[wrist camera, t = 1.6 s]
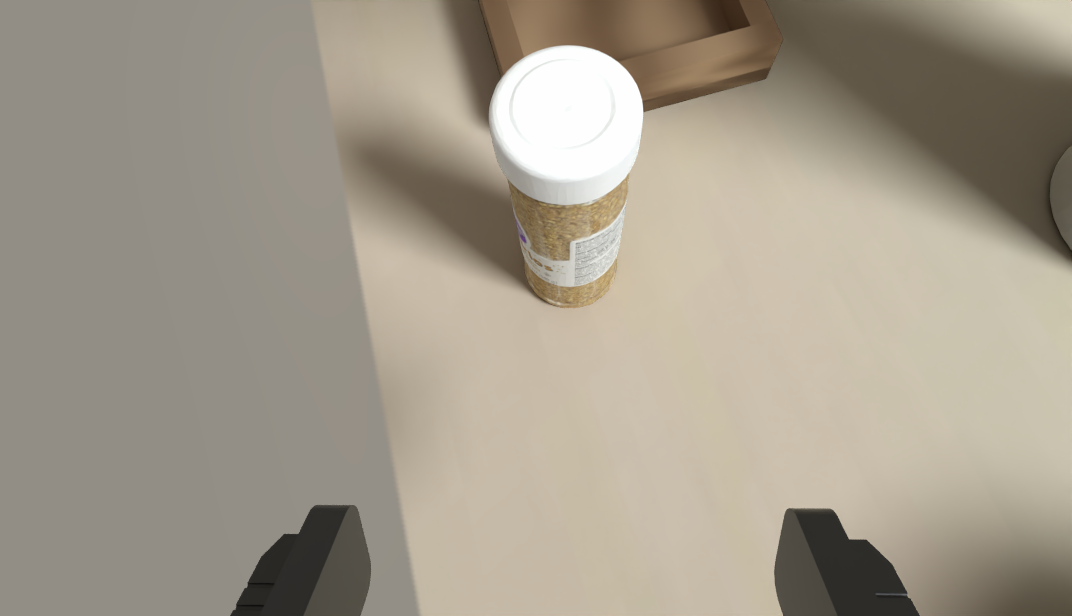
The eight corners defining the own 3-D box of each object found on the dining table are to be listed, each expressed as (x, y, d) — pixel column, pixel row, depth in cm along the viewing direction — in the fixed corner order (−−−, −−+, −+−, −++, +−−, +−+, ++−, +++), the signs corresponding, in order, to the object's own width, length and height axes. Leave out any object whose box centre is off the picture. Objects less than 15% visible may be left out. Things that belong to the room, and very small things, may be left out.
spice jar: (508, 255, 31) (456, 88, 18) (584, 208, 32) (586, 12, 19) (558, 329, 30) (541, 205, 17) (637, 279, 30) (678, 121, 18)
